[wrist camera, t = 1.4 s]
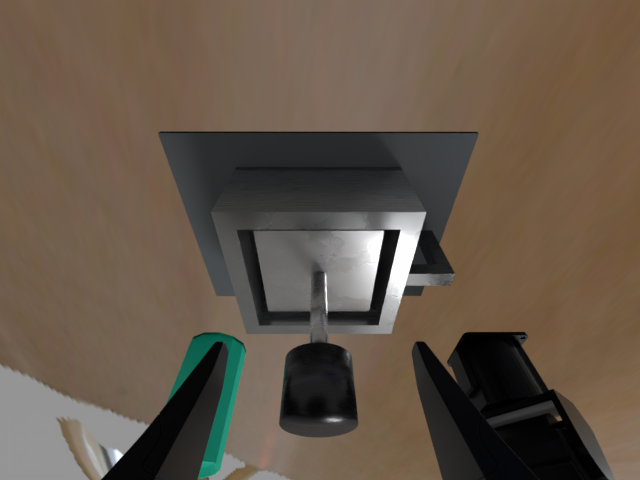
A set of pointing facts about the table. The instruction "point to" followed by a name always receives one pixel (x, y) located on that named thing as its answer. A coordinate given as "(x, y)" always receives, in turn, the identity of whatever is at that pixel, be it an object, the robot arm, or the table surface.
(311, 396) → the plunger
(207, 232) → the slate mat
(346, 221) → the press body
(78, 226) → the table surface
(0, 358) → the table surface
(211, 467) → the candle
